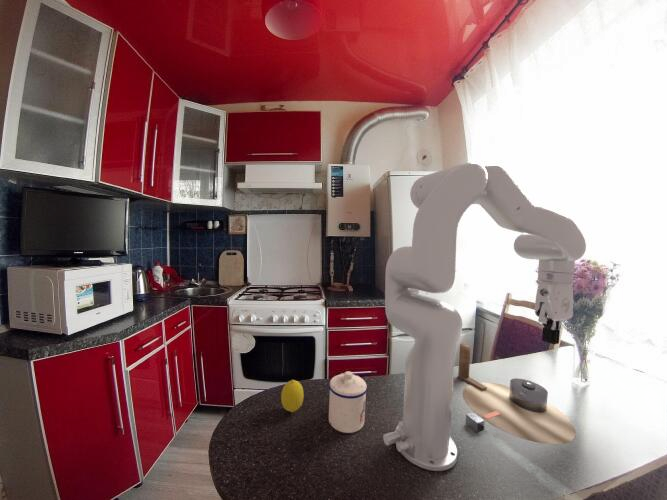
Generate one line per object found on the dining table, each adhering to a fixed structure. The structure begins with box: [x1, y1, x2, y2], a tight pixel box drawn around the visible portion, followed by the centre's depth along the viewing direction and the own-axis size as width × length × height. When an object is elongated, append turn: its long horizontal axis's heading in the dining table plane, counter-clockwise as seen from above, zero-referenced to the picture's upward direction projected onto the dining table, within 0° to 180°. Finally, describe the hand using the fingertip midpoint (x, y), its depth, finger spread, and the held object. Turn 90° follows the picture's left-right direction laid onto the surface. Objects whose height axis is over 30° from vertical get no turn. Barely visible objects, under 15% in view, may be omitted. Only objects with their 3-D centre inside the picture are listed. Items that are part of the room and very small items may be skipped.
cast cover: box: [509, 378, 549, 413], centre depth 68 cm, size 8×8×6 cm
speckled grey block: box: [465, 411, 485, 434], centre depth 60 cm, size 2×3×2 cm
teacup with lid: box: [328, 370, 368, 434], centre depth 62 cm, size 12×9×12 cm
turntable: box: [457, 343, 577, 445], centre depth 67 cm, size 25×29×12 cm
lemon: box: [280, 379, 305, 413], centre depth 62 cm, size 6×6×8 cm
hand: (550, 342), depth 71 cm, fingers closed
